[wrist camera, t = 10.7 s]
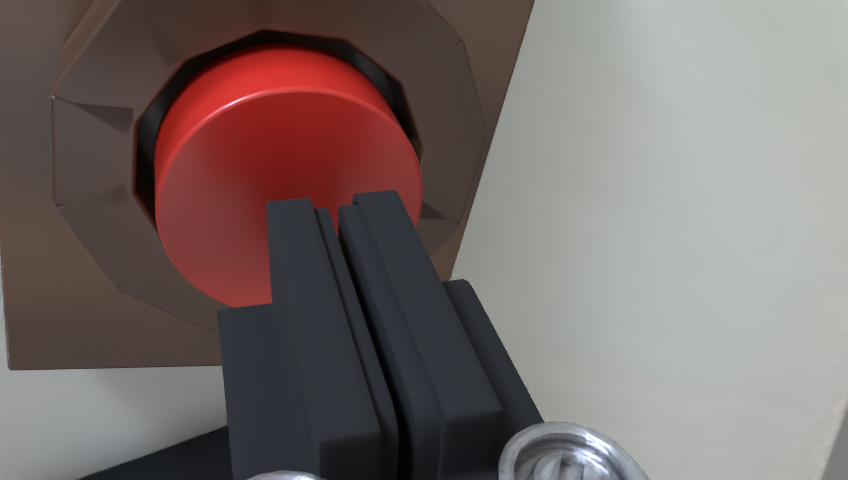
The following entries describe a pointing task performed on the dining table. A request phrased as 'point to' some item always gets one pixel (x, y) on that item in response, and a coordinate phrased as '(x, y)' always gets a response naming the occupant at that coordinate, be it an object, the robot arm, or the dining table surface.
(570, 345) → the dining table surface
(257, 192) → the button
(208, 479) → the control panel
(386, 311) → the robot arm
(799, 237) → the dining table surface
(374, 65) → the button block
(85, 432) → the dining table surface
